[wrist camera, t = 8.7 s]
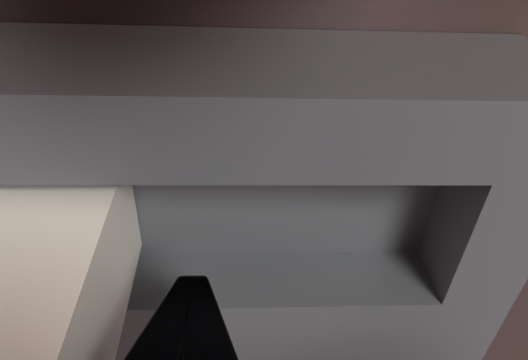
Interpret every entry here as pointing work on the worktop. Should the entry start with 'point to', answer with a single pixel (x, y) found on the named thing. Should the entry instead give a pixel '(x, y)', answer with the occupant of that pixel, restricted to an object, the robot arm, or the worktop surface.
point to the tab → (65, 270)
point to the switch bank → (293, 174)
